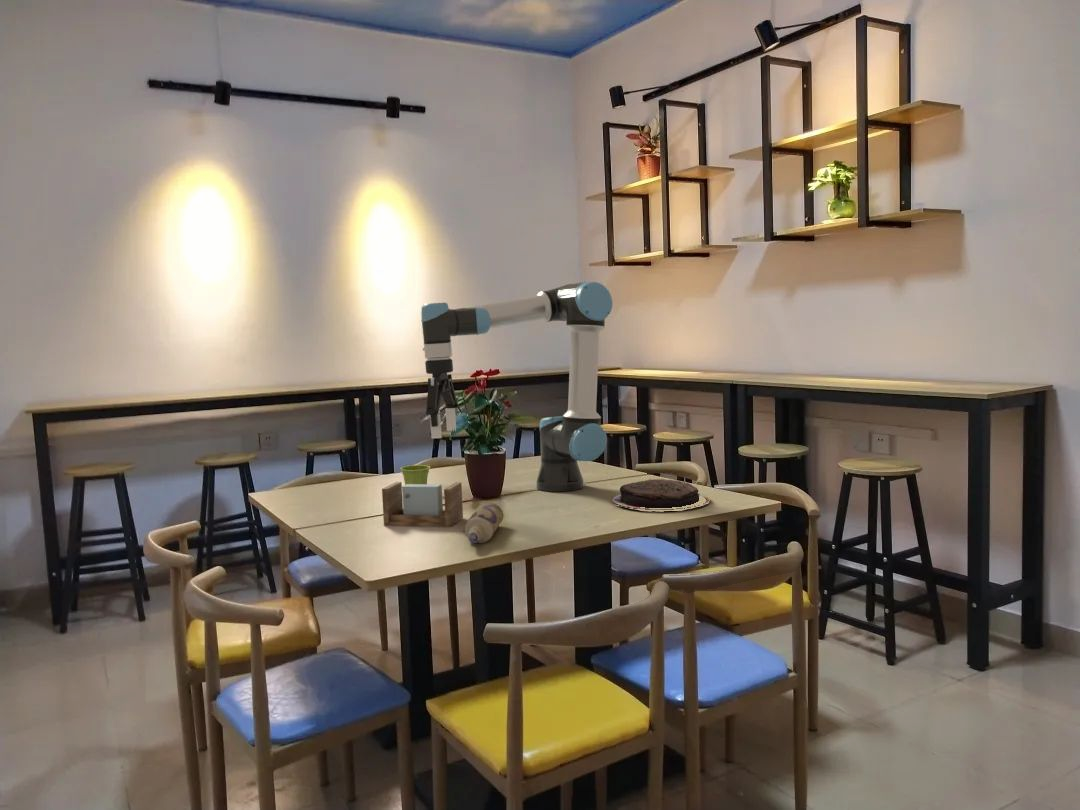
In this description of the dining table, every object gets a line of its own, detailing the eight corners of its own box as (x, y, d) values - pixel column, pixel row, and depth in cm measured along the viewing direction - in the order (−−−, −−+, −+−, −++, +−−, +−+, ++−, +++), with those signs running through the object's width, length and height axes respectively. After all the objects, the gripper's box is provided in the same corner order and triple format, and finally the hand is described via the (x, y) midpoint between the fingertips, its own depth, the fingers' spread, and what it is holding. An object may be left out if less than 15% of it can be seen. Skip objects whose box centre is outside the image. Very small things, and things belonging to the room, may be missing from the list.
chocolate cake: (730, 502, 240) (730, 480, 240) (664, 519, 223) (663, 494, 222) (658, 490, 262) (657, 469, 262) (592, 504, 245) (591, 482, 244)
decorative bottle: (476, 526, 221) (475, 501, 221) (504, 526, 220) (503, 501, 220) (454, 552, 196) (453, 524, 195) (486, 552, 195) (485, 524, 194)
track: (463, 518, 231) (461, 482, 230) (451, 526, 221) (449, 489, 220) (398, 517, 235) (396, 481, 234) (383, 525, 226) (381, 488, 225)
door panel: (443, 517, 229) (441, 484, 228) (437, 520, 225) (436, 487, 224) (408, 516, 231) (407, 484, 230) (402, 520, 227) (401, 487, 226)
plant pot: (434, 491, 272) (433, 464, 271) (427, 497, 263) (426, 469, 262) (406, 491, 273) (404, 465, 272) (398, 497, 264) (396, 470, 263)
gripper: (439, 356, 247) (445, 428, 249) (410, 362, 222) (416, 441, 225) (464, 355, 245) (469, 427, 247) (437, 361, 221) (443, 440, 223)
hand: (444, 434), depth 236 cm, fingers open, 13 cm apart
